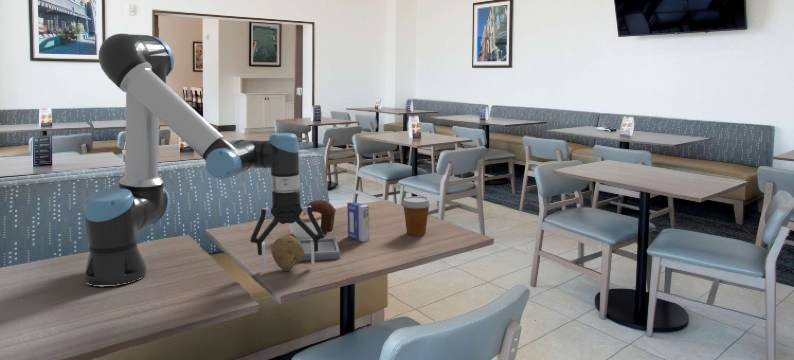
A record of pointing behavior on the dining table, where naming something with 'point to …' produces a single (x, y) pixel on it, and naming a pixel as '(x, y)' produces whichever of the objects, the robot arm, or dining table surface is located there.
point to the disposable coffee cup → (416, 214)
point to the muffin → (324, 214)
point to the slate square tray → (321, 249)
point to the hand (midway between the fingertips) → (288, 264)
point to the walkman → (358, 221)
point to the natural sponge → (287, 252)
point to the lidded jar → (299, 231)
